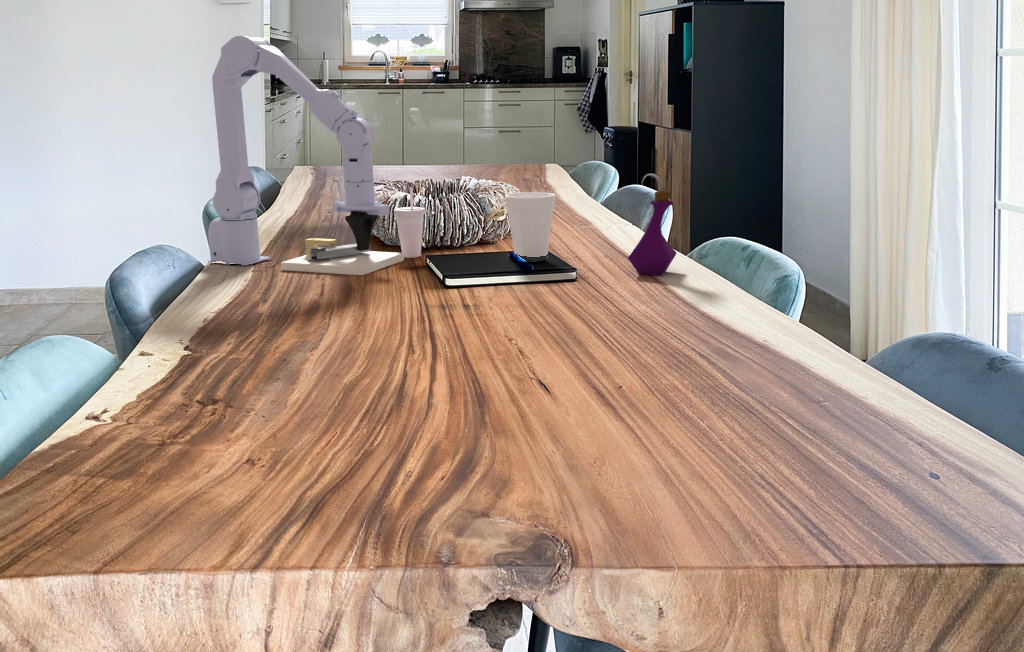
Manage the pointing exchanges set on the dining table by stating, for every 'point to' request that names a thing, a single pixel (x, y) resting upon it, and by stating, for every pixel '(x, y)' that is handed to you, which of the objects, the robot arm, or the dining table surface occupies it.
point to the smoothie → (410, 228)
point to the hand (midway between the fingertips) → (363, 250)
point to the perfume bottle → (654, 239)
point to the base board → (344, 263)
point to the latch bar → (334, 251)
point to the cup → (530, 221)
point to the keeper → (317, 243)
